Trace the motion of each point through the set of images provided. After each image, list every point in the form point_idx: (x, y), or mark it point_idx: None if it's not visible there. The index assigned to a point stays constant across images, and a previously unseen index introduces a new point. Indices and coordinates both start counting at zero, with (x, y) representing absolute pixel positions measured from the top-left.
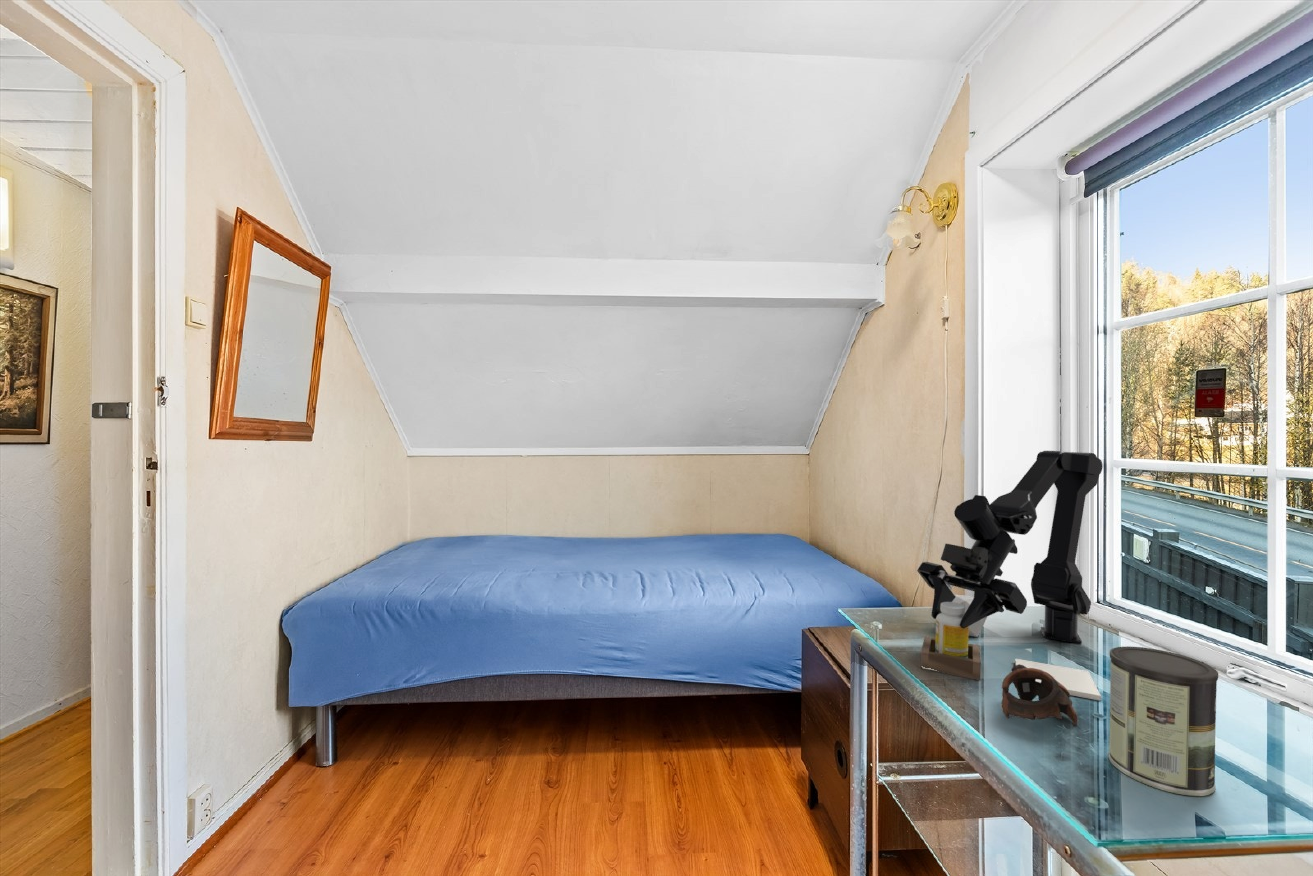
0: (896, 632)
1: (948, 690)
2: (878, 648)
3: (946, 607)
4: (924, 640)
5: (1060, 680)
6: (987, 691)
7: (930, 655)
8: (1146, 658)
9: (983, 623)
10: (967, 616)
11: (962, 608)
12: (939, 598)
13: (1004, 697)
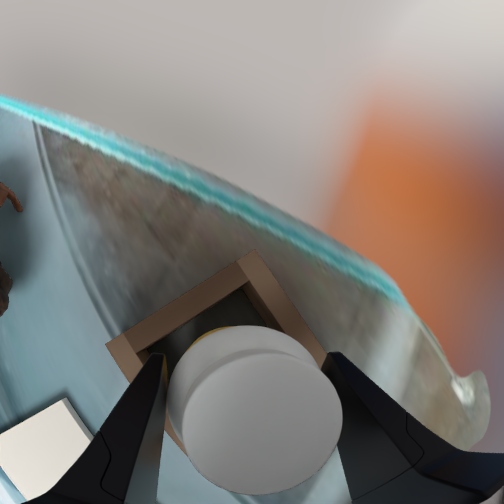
0: (428, 404)
1: (129, 208)
2: (384, 278)
3: (258, 354)
4: (324, 354)
5: (42, 470)
6: (78, 290)
7: (230, 265)
8: None
9: None
10: (128, 392)
11: (182, 433)
12: (382, 430)
13: (3, 187)
